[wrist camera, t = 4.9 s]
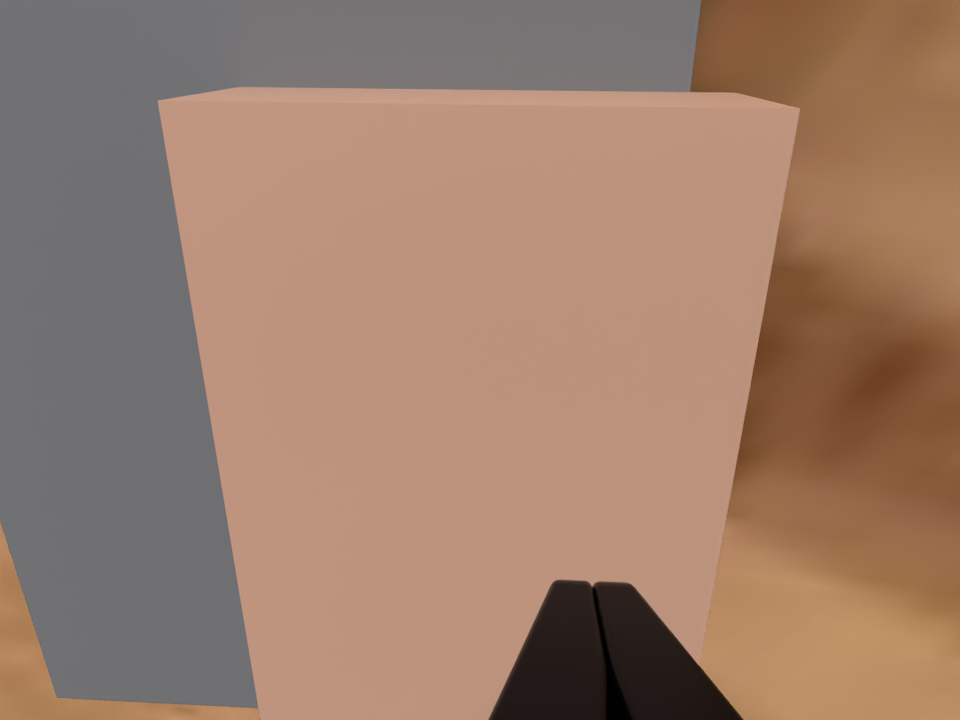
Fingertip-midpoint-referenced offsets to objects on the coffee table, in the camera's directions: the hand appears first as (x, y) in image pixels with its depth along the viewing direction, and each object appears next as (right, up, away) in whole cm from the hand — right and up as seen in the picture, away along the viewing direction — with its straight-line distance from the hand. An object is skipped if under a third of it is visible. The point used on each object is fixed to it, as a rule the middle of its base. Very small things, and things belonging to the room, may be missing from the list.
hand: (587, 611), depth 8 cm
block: (+2, +1, +3) cm, 4 cm away
